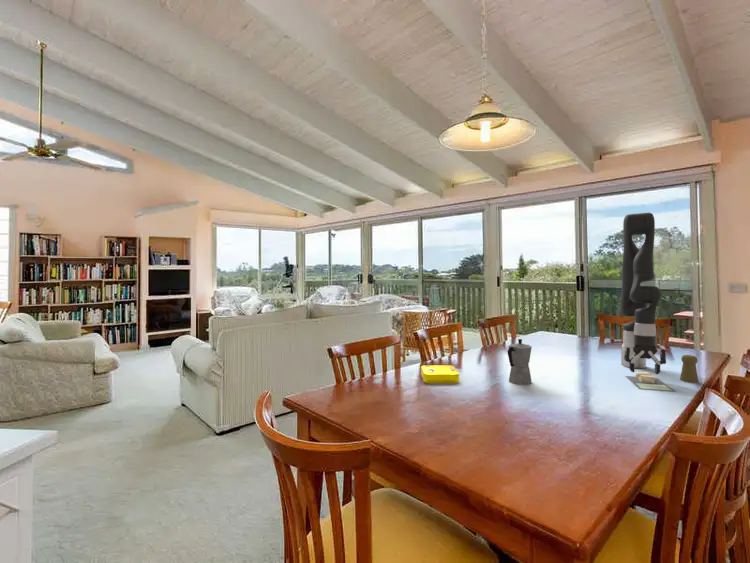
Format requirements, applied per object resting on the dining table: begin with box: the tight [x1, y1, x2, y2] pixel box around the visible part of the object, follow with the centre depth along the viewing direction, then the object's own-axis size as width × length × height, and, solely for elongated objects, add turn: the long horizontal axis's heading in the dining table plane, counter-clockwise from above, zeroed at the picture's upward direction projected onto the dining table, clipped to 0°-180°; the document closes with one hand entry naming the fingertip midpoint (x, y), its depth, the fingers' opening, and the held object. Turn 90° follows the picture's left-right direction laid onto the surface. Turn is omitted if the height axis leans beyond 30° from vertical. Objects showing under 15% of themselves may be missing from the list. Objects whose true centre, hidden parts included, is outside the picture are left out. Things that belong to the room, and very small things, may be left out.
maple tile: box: [635, 371, 656, 383], centre depth 163 cm, size 8×4×2 cm, turn 161°
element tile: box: [420, 364, 460, 384], centre depth 170 cm, size 15×15×5 cm
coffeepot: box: [507, 338, 533, 385], centre depth 163 cm, size 15×9×18 cm, turn 129°
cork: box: [679, 354, 699, 384], centre depth 161 cm, size 6×6×11 cm
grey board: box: [625, 375, 677, 393], centre depth 158 cm, size 20×12×1 cm, turn 161°
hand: (644, 372), depth 162 cm, fingers open, 8 cm apart
